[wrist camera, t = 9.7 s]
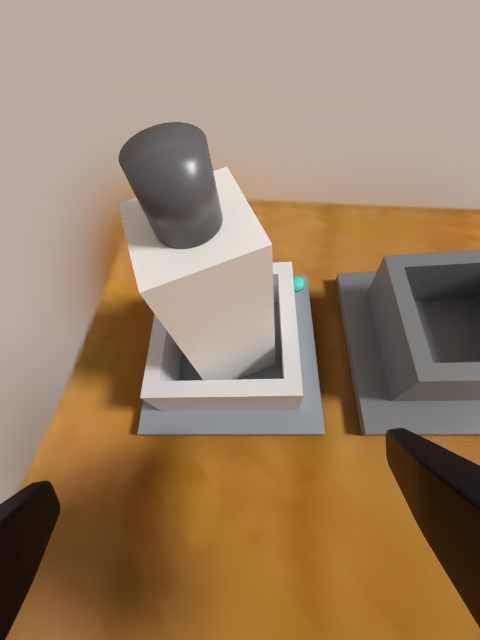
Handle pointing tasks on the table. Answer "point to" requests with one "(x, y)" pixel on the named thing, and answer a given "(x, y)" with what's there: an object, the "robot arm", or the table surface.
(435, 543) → the robot arm
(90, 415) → the table surface
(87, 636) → the table surface
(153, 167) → the plug
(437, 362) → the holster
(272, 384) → the port panel
